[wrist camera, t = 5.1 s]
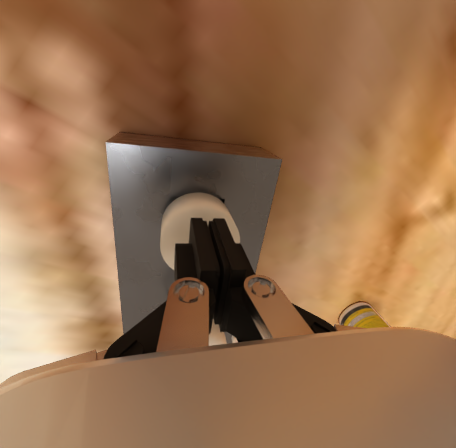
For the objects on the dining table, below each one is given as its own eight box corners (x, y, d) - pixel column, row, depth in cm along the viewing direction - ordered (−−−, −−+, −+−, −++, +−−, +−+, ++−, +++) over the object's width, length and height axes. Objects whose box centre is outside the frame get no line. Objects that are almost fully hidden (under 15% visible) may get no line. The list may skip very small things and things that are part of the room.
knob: (162, 174, 16) (160, 207, 11) (224, 178, 17) (245, 210, 13) (162, 229, 18) (159, 278, 13) (217, 230, 19) (233, 275, 15)
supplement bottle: (331, 320, 31) (380, 388, 24) (357, 296, 30) (418, 360, 23) (350, 329, 33) (400, 394, 26) (376, 307, 32) (436, 369, 25)
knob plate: (119, 131, 16) (105, 142, 12) (260, 147, 18) (282, 159, 15) (134, 359, 26) (129, 399, 23) (221, 349, 29) (229, 383, 25)
